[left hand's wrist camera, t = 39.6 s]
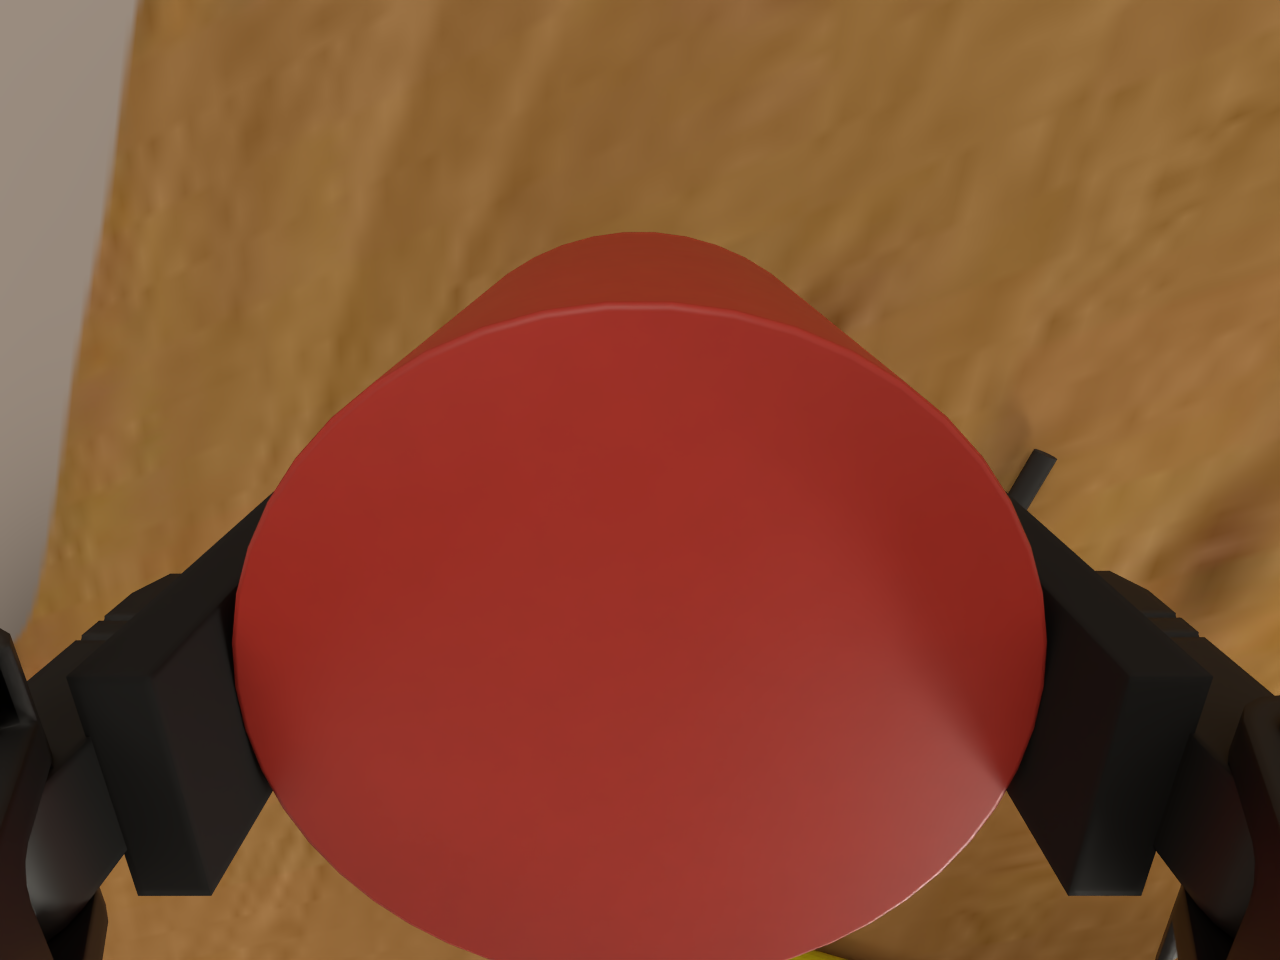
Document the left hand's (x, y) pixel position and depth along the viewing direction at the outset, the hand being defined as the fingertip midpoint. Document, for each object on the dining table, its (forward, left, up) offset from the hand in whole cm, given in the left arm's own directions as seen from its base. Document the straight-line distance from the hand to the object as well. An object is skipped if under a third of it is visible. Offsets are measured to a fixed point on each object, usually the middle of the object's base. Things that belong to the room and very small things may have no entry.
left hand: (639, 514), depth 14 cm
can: (0, 0, -3) cm, 3 cm away
